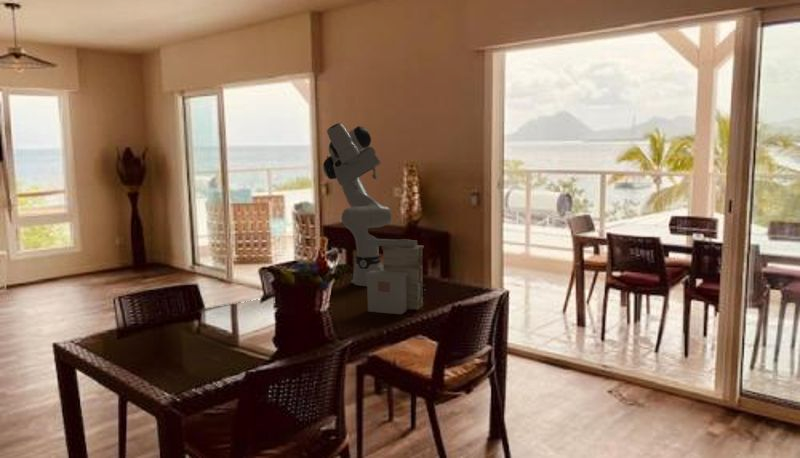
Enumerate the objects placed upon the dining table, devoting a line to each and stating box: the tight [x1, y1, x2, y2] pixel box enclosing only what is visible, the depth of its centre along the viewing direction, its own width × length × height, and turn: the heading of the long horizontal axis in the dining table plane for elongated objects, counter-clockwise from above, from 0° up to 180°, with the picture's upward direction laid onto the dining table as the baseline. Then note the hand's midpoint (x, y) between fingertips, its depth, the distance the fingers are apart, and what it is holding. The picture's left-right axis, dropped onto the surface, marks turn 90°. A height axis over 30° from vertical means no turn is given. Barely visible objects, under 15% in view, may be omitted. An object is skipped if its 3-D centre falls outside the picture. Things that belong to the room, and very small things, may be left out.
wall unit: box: [381, 244, 425, 311], centre depth 256 cm, size 8×16×26 cm, turn 70°
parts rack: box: [365, 271, 408, 315], centre depth 250 cm, size 7×16×16 cm, turn 70°
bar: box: [366, 238, 418, 247], centre depth 256 cm, size 22×3×3 cm, turn 70°
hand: (366, 184), depth 261 cm, fingers open, 8 cm apart
